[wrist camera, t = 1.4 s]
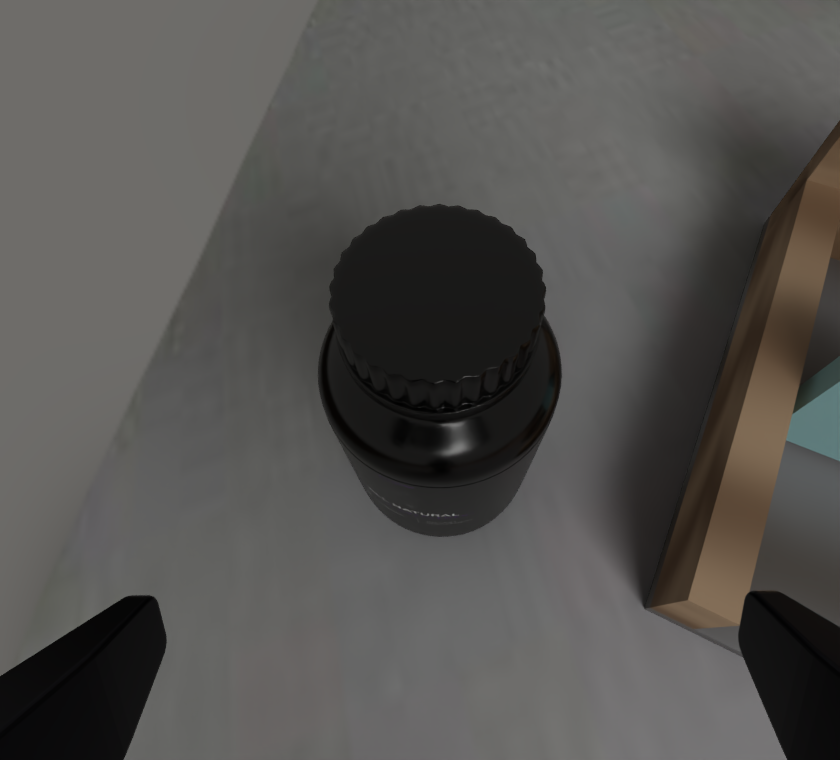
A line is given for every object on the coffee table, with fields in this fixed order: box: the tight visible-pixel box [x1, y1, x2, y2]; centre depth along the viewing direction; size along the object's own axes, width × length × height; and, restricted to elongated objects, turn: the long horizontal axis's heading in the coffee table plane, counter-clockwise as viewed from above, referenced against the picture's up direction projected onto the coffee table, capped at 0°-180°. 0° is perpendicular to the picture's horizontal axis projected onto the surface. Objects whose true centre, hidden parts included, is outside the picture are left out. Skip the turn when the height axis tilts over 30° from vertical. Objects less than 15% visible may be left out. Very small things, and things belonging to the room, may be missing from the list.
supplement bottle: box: [318, 204, 562, 537], centre depth 17 cm, size 7×7×12 cm
